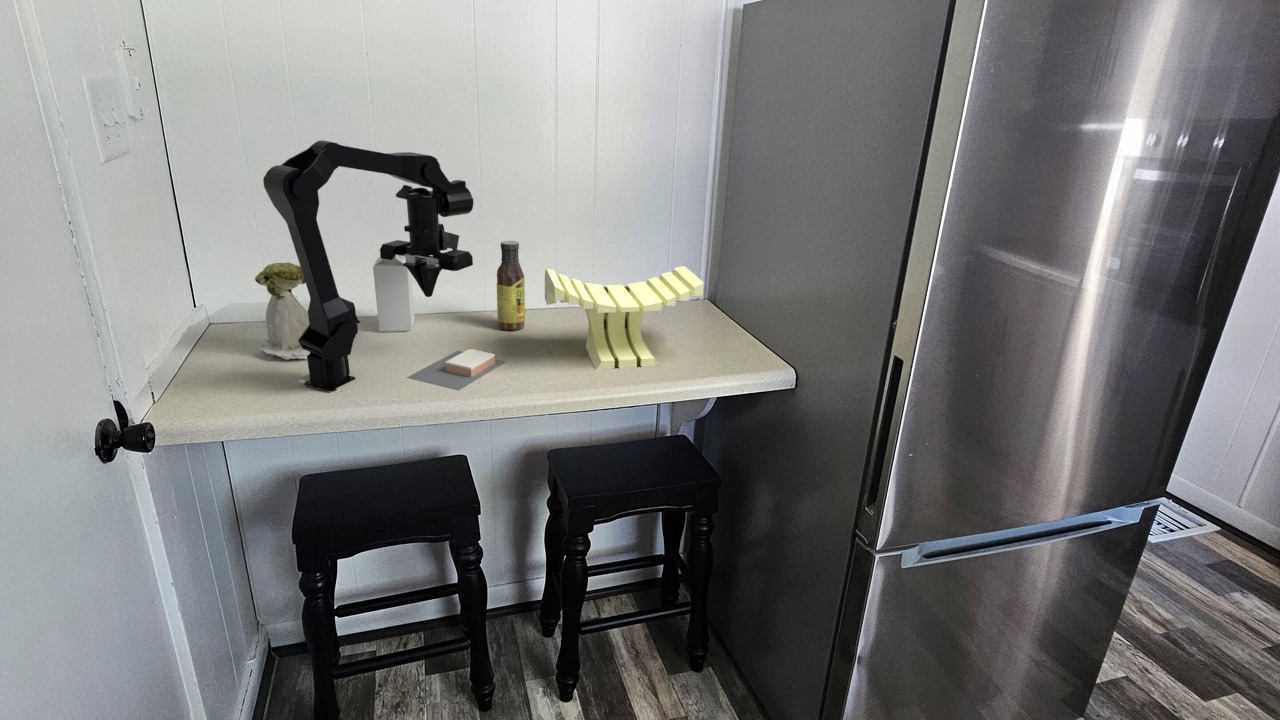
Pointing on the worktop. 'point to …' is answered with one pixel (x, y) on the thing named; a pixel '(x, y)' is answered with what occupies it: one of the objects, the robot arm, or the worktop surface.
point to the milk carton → (394, 295)
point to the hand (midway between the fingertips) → (428, 296)
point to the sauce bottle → (510, 289)
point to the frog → (284, 311)
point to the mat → (449, 374)
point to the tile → (470, 362)
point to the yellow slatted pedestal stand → (621, 312)
